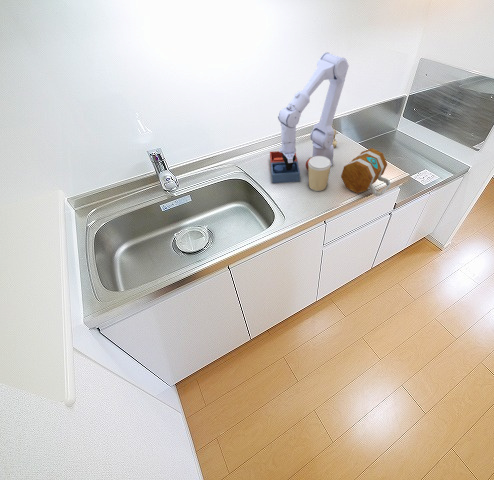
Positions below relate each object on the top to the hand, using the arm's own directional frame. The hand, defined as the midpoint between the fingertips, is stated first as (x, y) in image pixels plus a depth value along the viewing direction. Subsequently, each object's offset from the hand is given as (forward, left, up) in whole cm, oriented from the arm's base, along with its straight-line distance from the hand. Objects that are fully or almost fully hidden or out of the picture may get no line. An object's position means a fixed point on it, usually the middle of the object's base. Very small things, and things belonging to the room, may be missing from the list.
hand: (288, 168), depth 122 cm
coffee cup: (-12, +8, -4) cm, 15 cm away
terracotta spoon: (+2, -10, -4) cm, 10 cm away
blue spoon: (+2, 0, -1) cm, 2 cm away
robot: (-23, -26, -4) cm, 34 cm away
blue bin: (+2, 0, -4) cm, 4 cm away
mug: (-28, +16, +1) cm, 32 cm away
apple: (-12, -2, -4) cm, 13 cm away
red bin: (+2, -10, -4) cm, 11 cm away
